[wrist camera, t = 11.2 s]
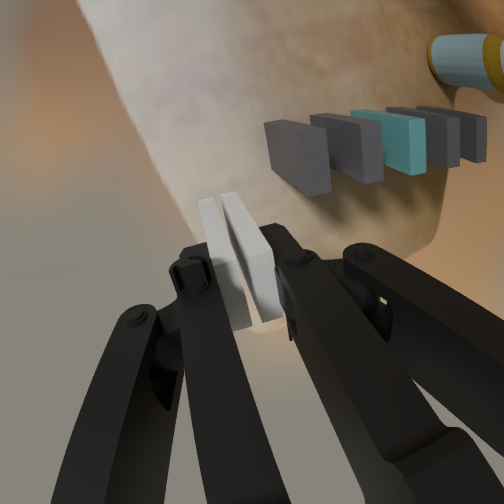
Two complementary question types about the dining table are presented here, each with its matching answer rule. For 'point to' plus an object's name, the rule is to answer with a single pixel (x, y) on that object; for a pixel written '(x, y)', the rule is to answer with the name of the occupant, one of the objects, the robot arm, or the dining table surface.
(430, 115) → the domino
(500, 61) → the bottle
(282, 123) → the domino
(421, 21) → the dining table surface
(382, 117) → the domino
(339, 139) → the domino
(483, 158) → the domino
